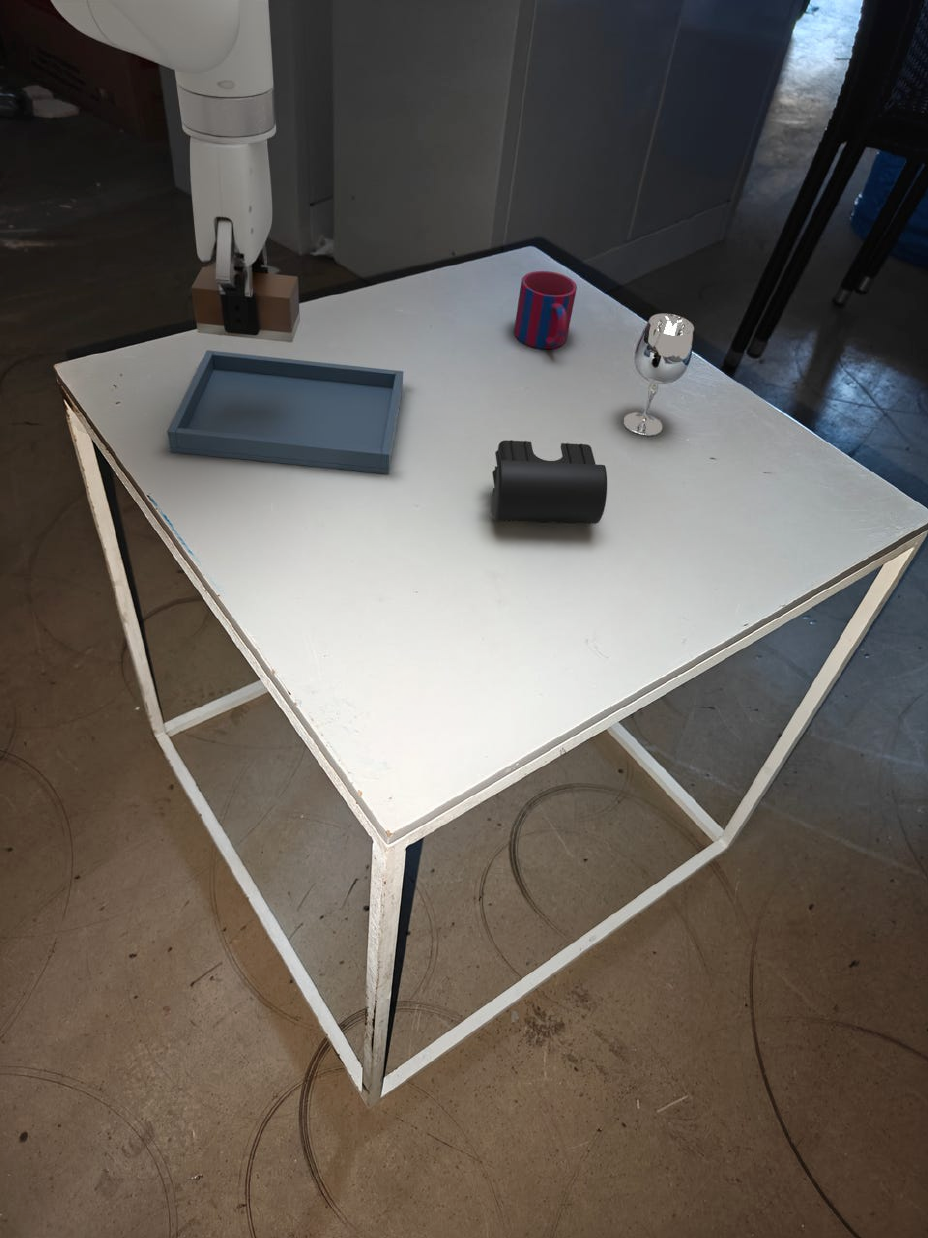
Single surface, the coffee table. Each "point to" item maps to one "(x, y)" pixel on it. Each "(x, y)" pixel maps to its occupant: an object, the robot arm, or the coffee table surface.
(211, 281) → the eraser
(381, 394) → the tray
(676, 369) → the wineglass
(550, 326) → the mug
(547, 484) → the end cap
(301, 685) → the coffee table surface
